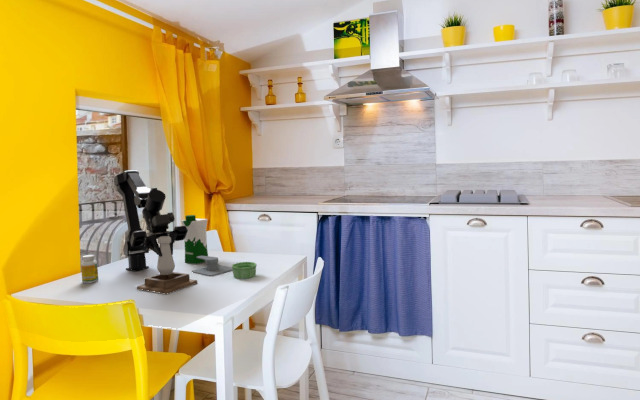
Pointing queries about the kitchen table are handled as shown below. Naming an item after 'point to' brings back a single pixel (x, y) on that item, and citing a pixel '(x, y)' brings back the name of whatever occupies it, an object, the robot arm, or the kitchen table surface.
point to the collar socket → (167, 282)
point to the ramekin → (244, 270)
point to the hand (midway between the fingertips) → (166, 255)
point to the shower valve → (212, 267)
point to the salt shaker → (165, 256)
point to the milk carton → (195, 239)
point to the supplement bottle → (89, 269)
